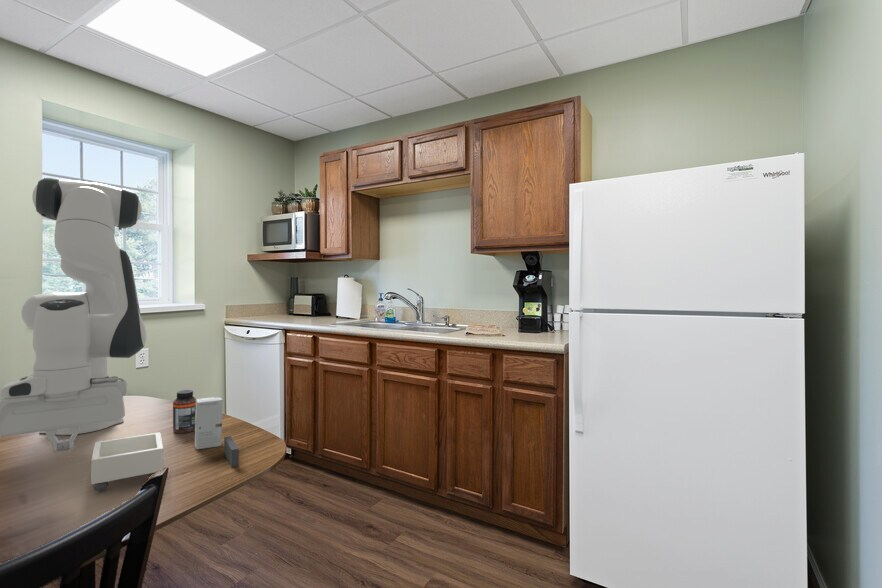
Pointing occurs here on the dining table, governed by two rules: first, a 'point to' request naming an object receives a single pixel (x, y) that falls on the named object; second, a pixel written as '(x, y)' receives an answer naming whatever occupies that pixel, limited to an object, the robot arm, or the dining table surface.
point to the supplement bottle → (184, 412)
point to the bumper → (231, 451)
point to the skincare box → (208, 422)
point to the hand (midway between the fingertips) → (63, 449)
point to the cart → (125, 458)
